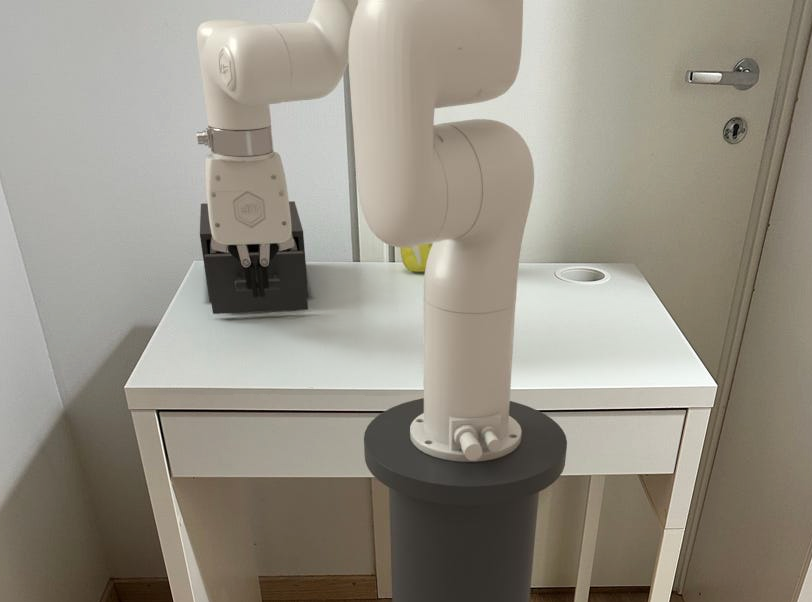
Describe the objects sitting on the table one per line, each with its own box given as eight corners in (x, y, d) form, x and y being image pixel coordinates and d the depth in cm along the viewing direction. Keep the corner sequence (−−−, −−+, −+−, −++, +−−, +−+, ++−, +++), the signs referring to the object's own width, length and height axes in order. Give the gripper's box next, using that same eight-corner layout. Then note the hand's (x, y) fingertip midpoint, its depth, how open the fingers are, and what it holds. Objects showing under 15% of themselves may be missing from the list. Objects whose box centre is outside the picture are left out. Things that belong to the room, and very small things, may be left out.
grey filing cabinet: (308, 298, 138) (303, 230, 132) (209, 302, 135) (199, 234, 129) (299, 263, 151) (294, 201, 145) (209, 266, 149) (200, 203, 143)
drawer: (310, 319, 128) (306, 262, 123) (212, 324, 126) (204, 265, 121) (299, 274, 144) (295, 222, 139) (212, 278, 141) (205, 224, 136)
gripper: (177, 149, 107) (201, 306, 119) (305, 147, 110) (316, 301, 121) (179, 137, 113) (201, 288, 124) (300, 135, 116) (311, 283, 127)
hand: (258, 294), depth 123 cm, fingers closed
